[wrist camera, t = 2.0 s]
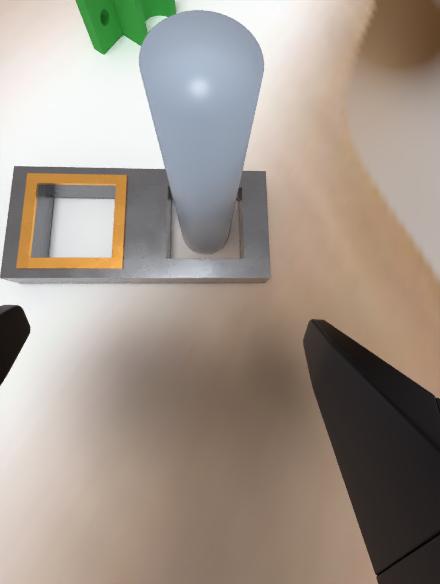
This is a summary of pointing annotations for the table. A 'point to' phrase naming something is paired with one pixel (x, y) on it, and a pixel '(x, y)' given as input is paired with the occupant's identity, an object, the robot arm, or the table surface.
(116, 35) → the pipe clamp
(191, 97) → the post
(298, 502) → the table surface
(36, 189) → the plate with square holes
